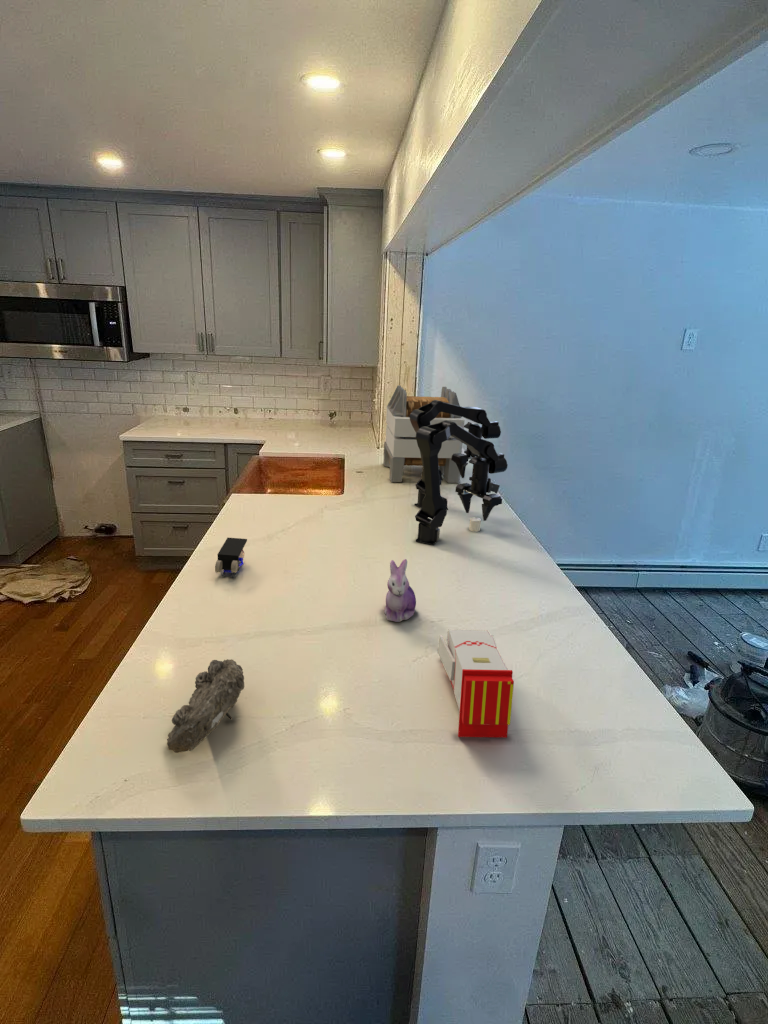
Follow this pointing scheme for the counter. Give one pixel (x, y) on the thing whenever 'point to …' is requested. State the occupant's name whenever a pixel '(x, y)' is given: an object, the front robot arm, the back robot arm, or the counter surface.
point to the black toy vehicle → (230, 556)
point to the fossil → (206, 705)
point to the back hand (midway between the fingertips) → (471, 476)
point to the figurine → (399, 594)
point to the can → (475, 524)
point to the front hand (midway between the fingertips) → (475, 516)
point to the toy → (478, 682)
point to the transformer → (403, 436)
